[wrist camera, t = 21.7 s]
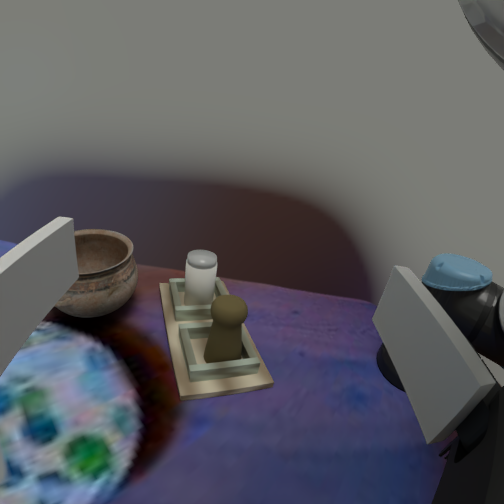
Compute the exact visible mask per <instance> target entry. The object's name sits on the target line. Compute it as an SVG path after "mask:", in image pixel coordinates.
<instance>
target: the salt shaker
mask: <svg viewBox="0 0 504 504" xmlns="http://www.w3.org/2000/svg"><path fill="white" fill-rule="evenodd" d="M216 270H217V256H216V255H215V254H214V253H212V252H210V251H206V250H194V251H191V252H189V253H188V259H187V260H186V274H185V294H184V304H185V306H193V305H211V304H212V302H213V298H214V288H215V280H216Z"/></svg>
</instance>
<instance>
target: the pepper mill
mask: <svg viewBox="0 0 504 504" xmlns="http://www.w3.org/2000/svg"><path fill="white" fill-rule="evenodd" d="M210 313H211V317H212V319H213V322H212V325H211V329H210V333H209V336H208V340H207V344H206V347H205V351H204V356H203V357H204V360H205V362H206V363H216V362H225V361H233V360H240V359H241V353H242V323H244V321H245V319H246V317H247V314H248V309H247V305H246V303H245V301H244V300H243V299H241V298H240V297H238V296H234V295H221V296H218V297H217V298H216V299H215V300H214V301H213V302H212V304H211V309H210Z"/></svg>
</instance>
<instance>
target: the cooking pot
mask: <svg viewBox="0 0 504 504" xmlns="http://www.w3.org/2000/svg"><path fill="white" fill-rule="evenodd" d="M74 237H75V247H76V257H77V265H78V272H79V278H78V279H77V280H76V281H75V282H74V284H73V285H72V286H71V287H70V288H69V289H68V290H67V292H66V293H65V294H64V295H63V296H62V297H61V298H60V300H59V301H58V302H57V303H56V304H55V305H54V307H56V308H58V309H59V310H61V311H62V312H64V313H66V314H69V315H72V316H75V317H82V318H92V317H99V316H103V315H106V314H109V313H112V312H113V311H115V310H117V309H119V308H120V307H121V306H123V305H124V304H125V303H126V302H127V301H128V300H129V299H130V297H131V296H132V294H133V292H134V290H135V288H136V284H137V281H138V270H137V266H136V263H135V260H134V257H133V255H132V252H133V244H132V242H131V241H130V239H128V238H127V237H126V236H124V235H122V234H120V233H117V232H113V231H109V230H99V229H88V230H79V231H74Z"/></svg>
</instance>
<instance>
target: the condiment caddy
mask: <svg viewBox="0 0 504 504" xmlns="http://www.w3.org/2000/svg"><path fill="white" fill-rule="evenodd" d="M160 294H161V301H162V308H163V314H164V320H165V326H166V332H167V337H168V343H169V348H170V353H171V359H172V363H173V368H174V373H175V378H176V382H177V387H178V391H179V396H180V400H181V401H183V400H193V399H201V398H209V397H217V396H224V395H231V394H237V393H243V392H249V391H255V390H260V389H265V388H270V387H273V384H274V381H273V379H272V377H271V376H270V374H269V372H268V370H267V368H266V366H265V364H264V362H263V360H262V358H261V356H260V354H259V352H258V350H257V349H256V347H255V345H254V343H253V341H252V339H251V337H250V335H249V333H248V331H247V329H246V327H245V325H244V323H242V353H241V359H240V360H233V361H225V362H216V363H206V362H205V360H204V357H203V356H204V351H205V347H206V344H207V340H208V336H209V333H210V329H211V325H212V322H213V319H212V317H211V313H210V309H211V305H193V306H185V304H184V294H185V278H181V279H169V283H160ZM221 295H230V294H229V292H228V290H227V288H226V286H225V284H224V282H223V281H220V278H219V277H216V280H215V288H214V298H213V301H214V300H215V299H216V298H217V297H218V296H221Z"/></svg>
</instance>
